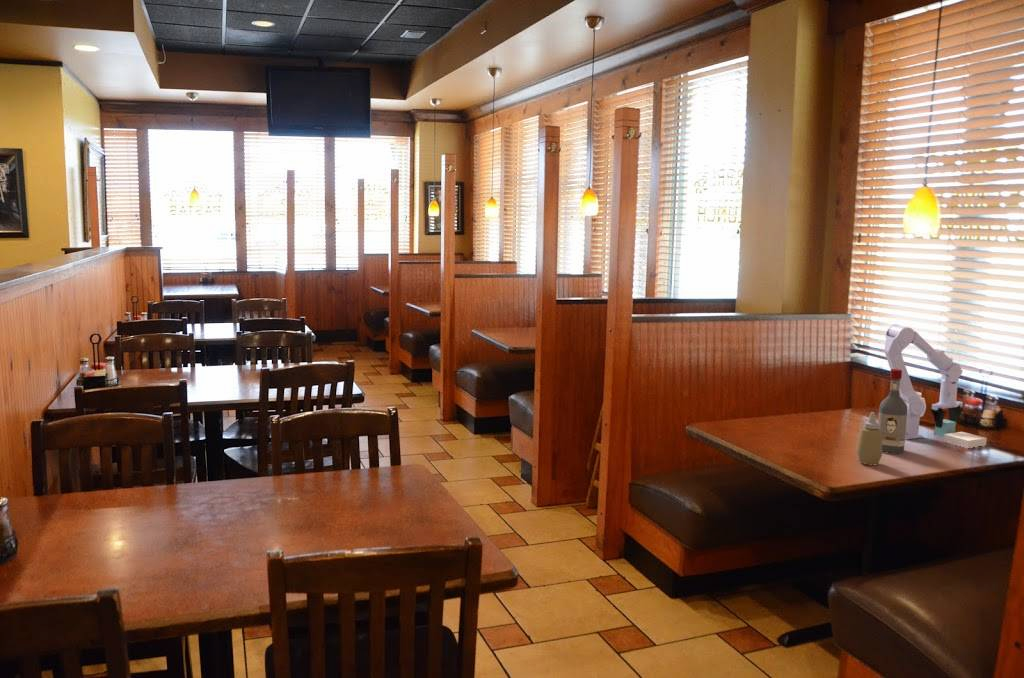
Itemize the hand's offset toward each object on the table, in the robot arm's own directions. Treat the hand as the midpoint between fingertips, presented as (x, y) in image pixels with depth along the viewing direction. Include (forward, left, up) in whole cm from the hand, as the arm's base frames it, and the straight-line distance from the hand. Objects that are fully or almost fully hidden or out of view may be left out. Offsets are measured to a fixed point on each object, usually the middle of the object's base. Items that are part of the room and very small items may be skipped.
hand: (945, 426), depth 314 cm
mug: (+8, +21, -4) cm, 23 cm away
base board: (-3, -11, -4) cm, 12 cm away
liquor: (-37, -7, -4) cm, 38 cm away
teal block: (0, 0, -4) cm, 4 cm away
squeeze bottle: (-57, -16, -4) cm, 59 cm away
